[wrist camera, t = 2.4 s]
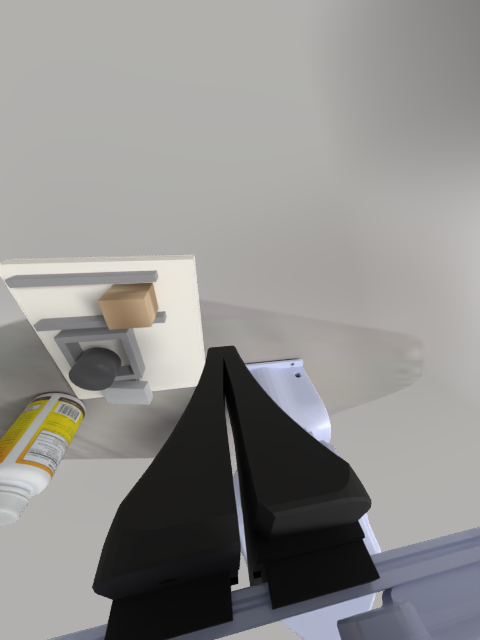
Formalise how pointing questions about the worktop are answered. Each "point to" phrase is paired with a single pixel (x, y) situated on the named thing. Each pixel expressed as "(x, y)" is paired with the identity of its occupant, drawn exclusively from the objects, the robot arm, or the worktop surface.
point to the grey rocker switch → (128, 392)
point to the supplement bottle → (35, 450)
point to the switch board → (89, 323)
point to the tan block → (129, 306)
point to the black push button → (95, 369)
